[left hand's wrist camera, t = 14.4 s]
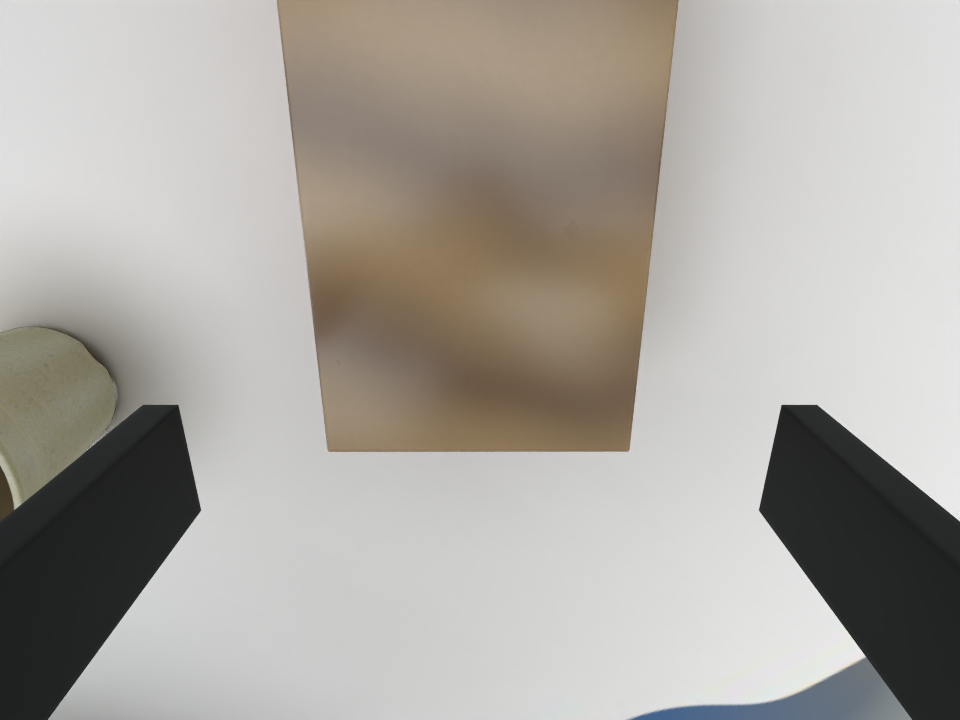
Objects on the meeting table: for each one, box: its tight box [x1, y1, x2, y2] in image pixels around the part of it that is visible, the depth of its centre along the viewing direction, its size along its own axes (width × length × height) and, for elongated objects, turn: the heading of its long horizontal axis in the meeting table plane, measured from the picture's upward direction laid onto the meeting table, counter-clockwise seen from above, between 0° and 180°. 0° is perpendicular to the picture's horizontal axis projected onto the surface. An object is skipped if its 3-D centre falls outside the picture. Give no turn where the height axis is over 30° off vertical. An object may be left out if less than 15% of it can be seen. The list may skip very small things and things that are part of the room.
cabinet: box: [277, 0, 678, 452], centre depth 20 cm, size 19×10×9 cm, turn 0°
